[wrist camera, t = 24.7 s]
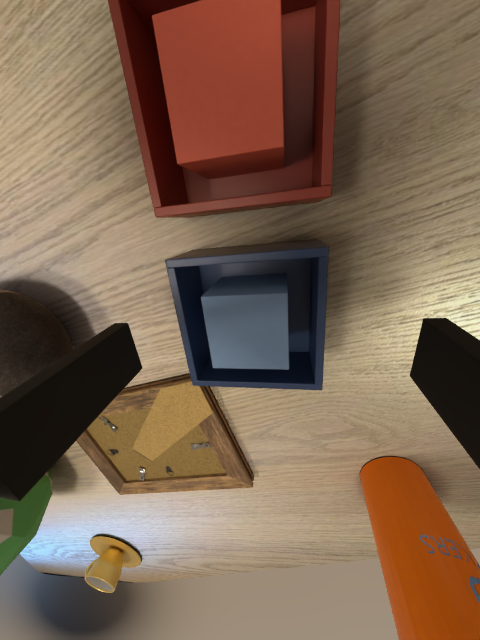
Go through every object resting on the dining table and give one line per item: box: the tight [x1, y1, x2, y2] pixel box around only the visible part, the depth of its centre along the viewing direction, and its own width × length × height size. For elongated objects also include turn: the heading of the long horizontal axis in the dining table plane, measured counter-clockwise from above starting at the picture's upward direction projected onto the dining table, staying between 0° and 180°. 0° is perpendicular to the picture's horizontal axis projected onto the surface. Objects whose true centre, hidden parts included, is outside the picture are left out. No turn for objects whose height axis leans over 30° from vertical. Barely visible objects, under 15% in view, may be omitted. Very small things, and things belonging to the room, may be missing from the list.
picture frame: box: [76, 374, 254, 495], centre depth 33 cm, size 19×2×24 cm
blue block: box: [201, 273, 289, 370], centre depth 20 cm, size 6×6×6 cm
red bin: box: [108, 0, 340, 217], centre depth 15 cm, size 11×11×6 cm
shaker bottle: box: [360, 457, 480, 640], centre depth 20 cm, size 9×9×20 cm
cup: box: [85, 536, 141, 593], centre depth 49 cm, size 12×12×5 cm
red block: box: [152, 0, 284, 179], centre depth 14 cm, size 6×6×6 cm
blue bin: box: [165, 239, 329, 390], centre depth 20 cm, size 11×11×6 cm
